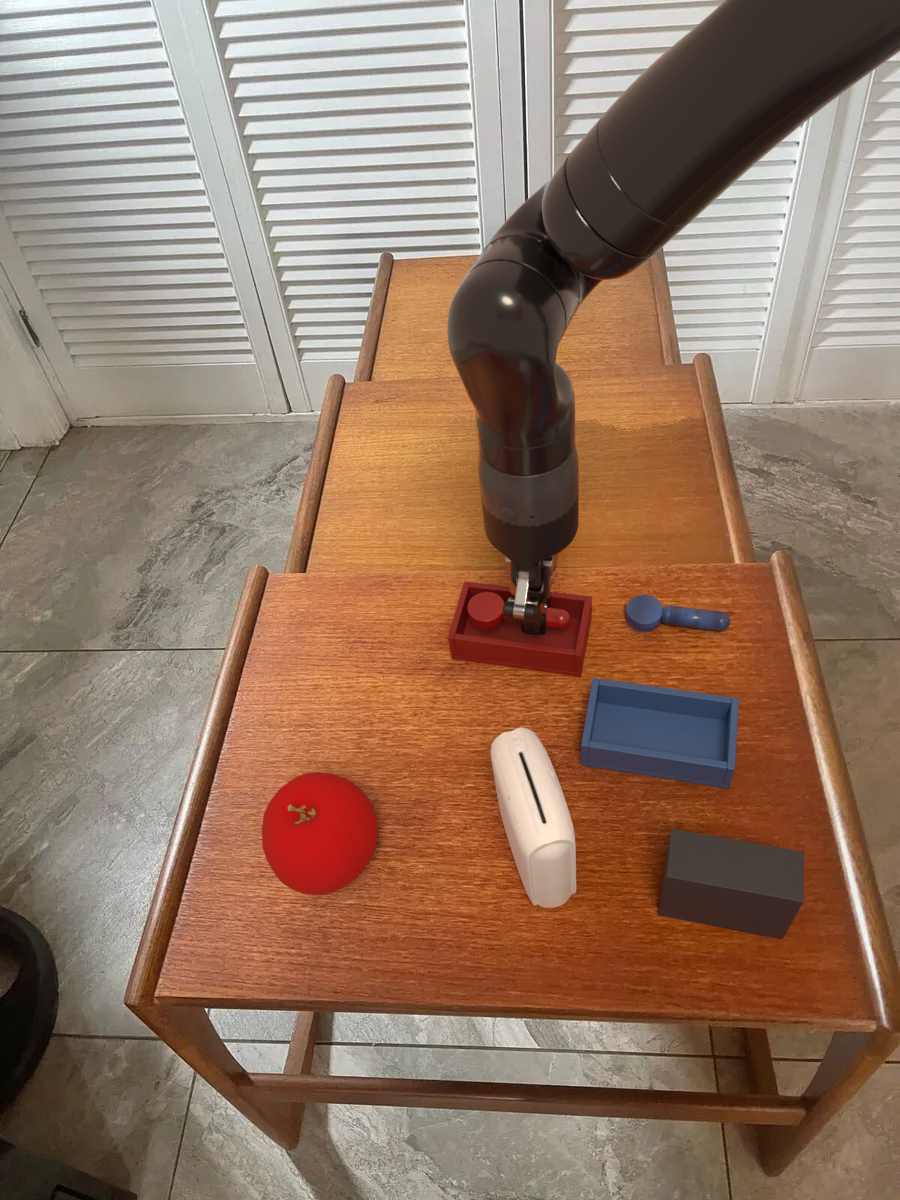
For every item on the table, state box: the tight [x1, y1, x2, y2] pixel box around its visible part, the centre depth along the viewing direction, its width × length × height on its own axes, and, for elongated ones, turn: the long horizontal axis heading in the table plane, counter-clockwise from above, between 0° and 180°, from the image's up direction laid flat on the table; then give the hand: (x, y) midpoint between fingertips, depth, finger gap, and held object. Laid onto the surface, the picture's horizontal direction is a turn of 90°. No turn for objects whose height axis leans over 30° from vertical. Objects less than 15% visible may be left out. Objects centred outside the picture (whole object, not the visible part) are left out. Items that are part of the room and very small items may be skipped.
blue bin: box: [580, 677, 740, 790], centre depth 76 cm, size 12×7×4 cm, turn 76°
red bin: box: [447, 580, 593, 678], centre depth 84 cm, size 12×7×4 cm, turn 76°
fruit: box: [261, 771, 379, 896], centre depth 71 cm, size 9×9×10 cm
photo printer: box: [490, 726, 578, 909], centre depth 68 cm, size 10×4×12 cm, turn 14°
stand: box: [657, 828, 805, 940], centre depth 66 cm, size 9×4×8 cm, turn 76°
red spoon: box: [468, 592, 571, 630], centre depth 83 cm, size 10×3×2 cm, turn 76°
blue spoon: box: [625, 594, 731, 633], centre depth 84 cm, size 10×3×2 cm, turn 76°
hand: (536, 619), depth 83 cm, fingers closed on red spoon, 1 cm apart
